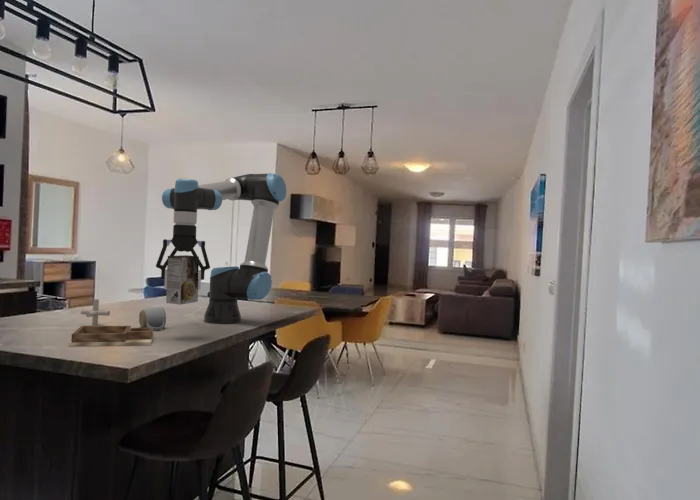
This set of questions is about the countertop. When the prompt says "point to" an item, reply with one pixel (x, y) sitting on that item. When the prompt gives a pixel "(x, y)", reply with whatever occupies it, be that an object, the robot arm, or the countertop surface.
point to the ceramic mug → (153, 318)
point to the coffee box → (182, 280)
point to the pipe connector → (95, 312)
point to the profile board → (111, 336)
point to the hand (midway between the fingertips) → (182, 289)
